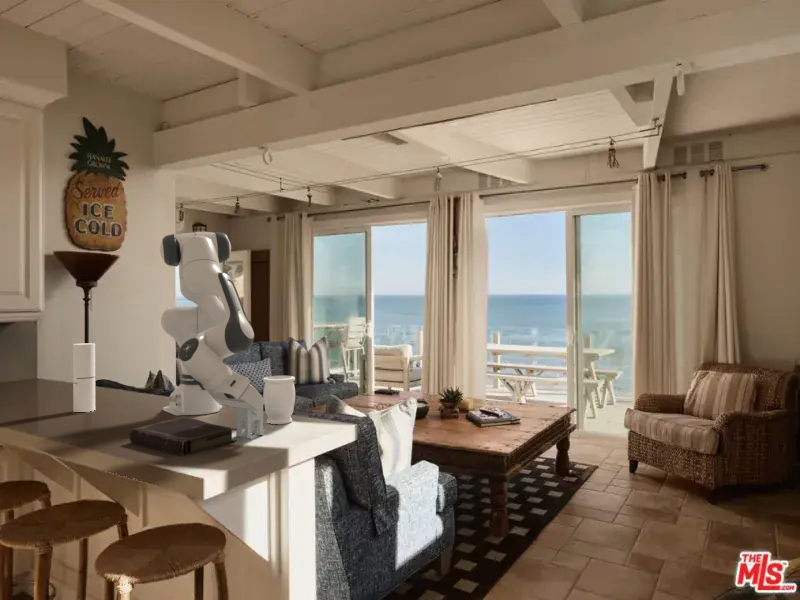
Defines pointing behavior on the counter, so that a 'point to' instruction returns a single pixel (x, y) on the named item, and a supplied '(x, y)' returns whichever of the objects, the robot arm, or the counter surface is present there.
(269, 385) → the jar
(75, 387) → the miniature refrigerator
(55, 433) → the counter surface
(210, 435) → the diary
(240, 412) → the stool
